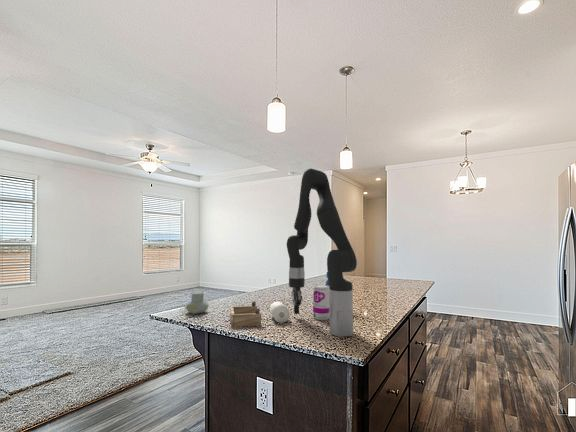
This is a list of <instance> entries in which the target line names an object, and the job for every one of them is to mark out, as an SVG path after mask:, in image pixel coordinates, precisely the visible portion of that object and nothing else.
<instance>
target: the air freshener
mask: <svg viewBox="0 0 576 432" xmlns="http://www.w3.org/2000/svg"><path fill="white" fill-rule="evenodd" d="M208 308H209V304H208V302H207V301H205V300H204V292H203V291H202V292H201V291H194V292H192V293H191V301H189V302H188V303H187V304H186V307H185V309H186V311H187V312H188V313H189V314H192V315H200V314H203V313H205V312H206V311H207V310H208Z"/></svg>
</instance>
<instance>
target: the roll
mask: <svg viewBox="0 0 576 432" xmlns="http://www.w3.org/2000/svg"><path fill="white" fill-rule="evenodd" d="M269 312H270V314H271V316H272V318H273V319H274V320H275V321H276V322H277V323H280V324H283V323H285V322H287V321H288V320H289V318H290V310H289V309H288V308H287V307H286V306H285V305H284V304H283V303H282V302H280V301H274V302H273V303H271V305H270V306H269Z"/></svg>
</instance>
